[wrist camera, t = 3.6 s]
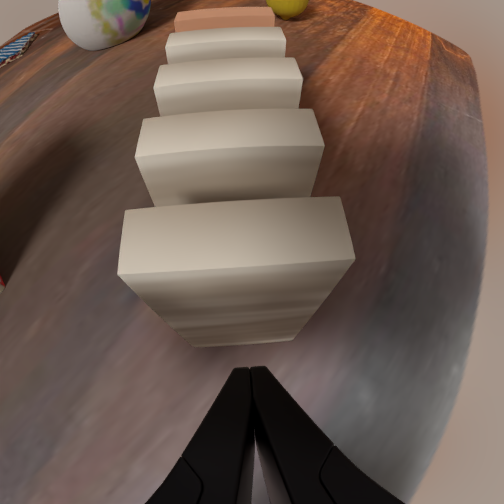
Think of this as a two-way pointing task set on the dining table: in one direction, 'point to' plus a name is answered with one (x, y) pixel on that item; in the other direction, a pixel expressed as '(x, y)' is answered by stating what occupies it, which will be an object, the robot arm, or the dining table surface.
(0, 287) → the stack of blocks
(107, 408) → the dining table surface
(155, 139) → the domino
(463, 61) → the dining table surface
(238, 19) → the domino
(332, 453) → the robot arm
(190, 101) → the domino
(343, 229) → the domino
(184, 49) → the domino
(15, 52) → the woven mat
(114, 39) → the decorative egg
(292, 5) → the lemon
